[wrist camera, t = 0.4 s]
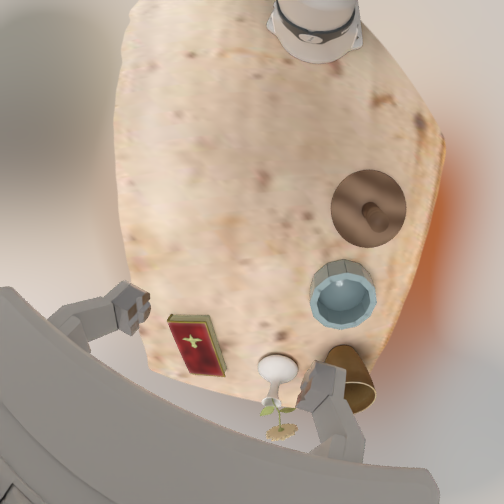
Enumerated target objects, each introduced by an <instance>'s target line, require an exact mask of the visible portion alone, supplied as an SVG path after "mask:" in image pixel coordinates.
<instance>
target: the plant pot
mask: <svg viewBox="0 0 504 504" xmlns="http://www.w3.org/2000/svg"><path fill="white" fill-rule="evenodd" d="M325 363H327V364H330V365H334V366H336V367H340V368H343V369H346V381H345V390H344V399H345V400H347V402H348V404H349V406H350V408H351V410H352V412H353V415H354V414H357V413H359V412H362V411H364V410H365V409H367V408H368V407H369V406H371V405H372V403H374V401H375V399H376V391H375V388H374V385H373V382H372V380H371V377H370V375H369V373H368V370H367V368H366V367H365V365H364V363H363V361H362V360H361V358H360V357H359V355H358V354H357V353H356V351H355V350H354V349H353V348H352V347H350V346H347V345H341V346H337V347H335V348H333V349H332V350H331V351H330V352H329V354H328V356H327V358H326V361H325Z"/></svg>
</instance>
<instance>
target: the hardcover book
mask: <svg viewBox="0 0 504 504" xmlns="http://www.w3.org/2000/svg"><path fill="white" fill-rule="evenodd" d="M167 322H168V325H169V327H170V330H171V332H172V335H173V337H174V339H175V342H176V344H177V346H178V348H179V351H180V353H181V355H182V357H183V360H184V362H185V364H186V366H187V368H188V370H189V373H190V374H195V375H206V376H218V377H225V374H224V373H225V371H226V365H225V362H224V359H223V356H222V353H221V350H220V347H219V344H218V341H217V338H216V335H215V332H214V329H213V326H212V323H211V320H210V317H209V315H173V314H171V315H170V316H169V317H168V319H167Z"/></svg>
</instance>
